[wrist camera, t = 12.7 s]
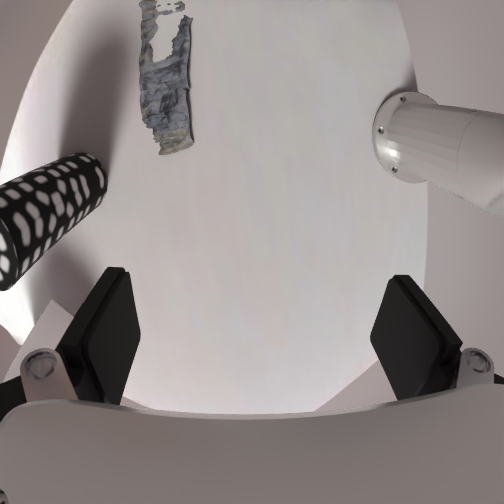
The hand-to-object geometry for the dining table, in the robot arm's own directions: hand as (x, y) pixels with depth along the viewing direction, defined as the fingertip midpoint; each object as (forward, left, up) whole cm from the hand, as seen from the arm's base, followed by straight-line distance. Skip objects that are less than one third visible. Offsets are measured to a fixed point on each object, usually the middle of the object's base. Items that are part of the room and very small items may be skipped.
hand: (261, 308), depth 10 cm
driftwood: (+10, -11, -29) cm, 33 cm away
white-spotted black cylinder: (+22, +2, -28) cm, 36 cm away
